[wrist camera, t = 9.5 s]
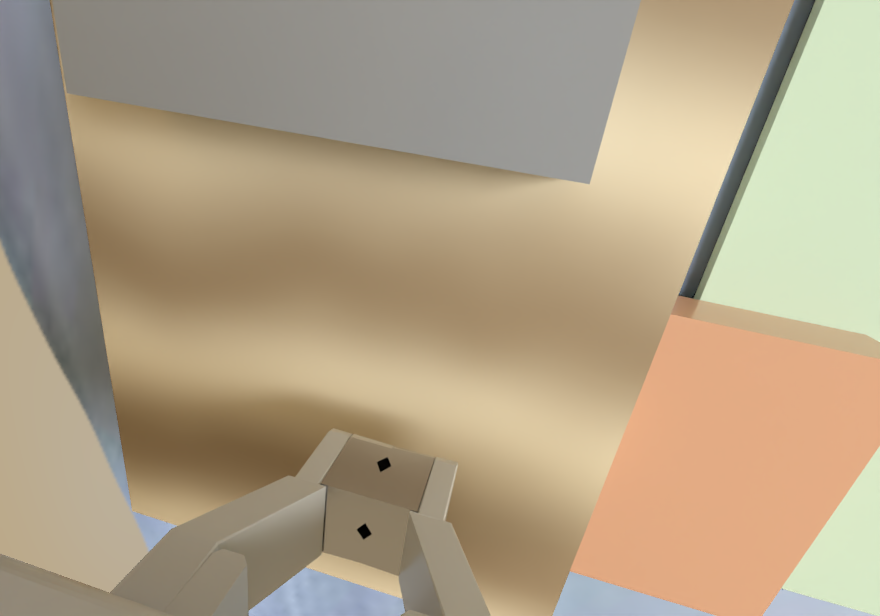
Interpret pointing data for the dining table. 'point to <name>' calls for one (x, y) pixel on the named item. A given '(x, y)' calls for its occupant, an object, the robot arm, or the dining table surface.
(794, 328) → the terracotta tile
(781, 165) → the mat
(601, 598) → the dining table surface
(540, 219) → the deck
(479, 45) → the slate tile
